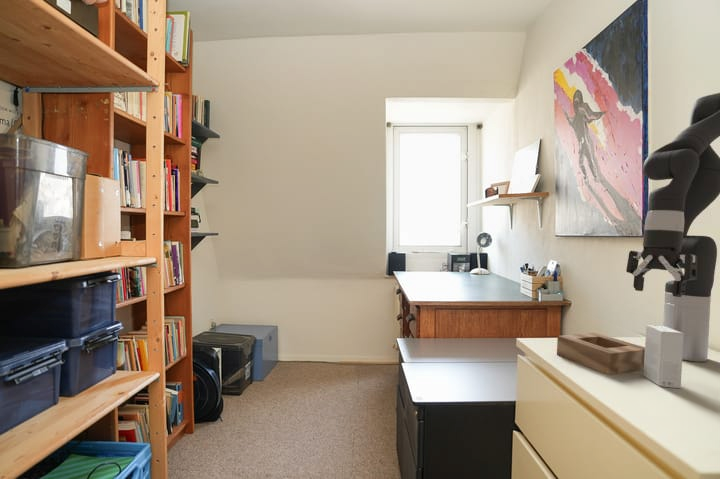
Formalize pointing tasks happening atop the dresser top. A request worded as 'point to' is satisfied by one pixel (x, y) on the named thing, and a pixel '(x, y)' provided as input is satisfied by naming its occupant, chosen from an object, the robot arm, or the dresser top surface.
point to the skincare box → (663, 356)
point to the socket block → (602, 352)
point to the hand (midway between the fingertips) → (656, 293)
